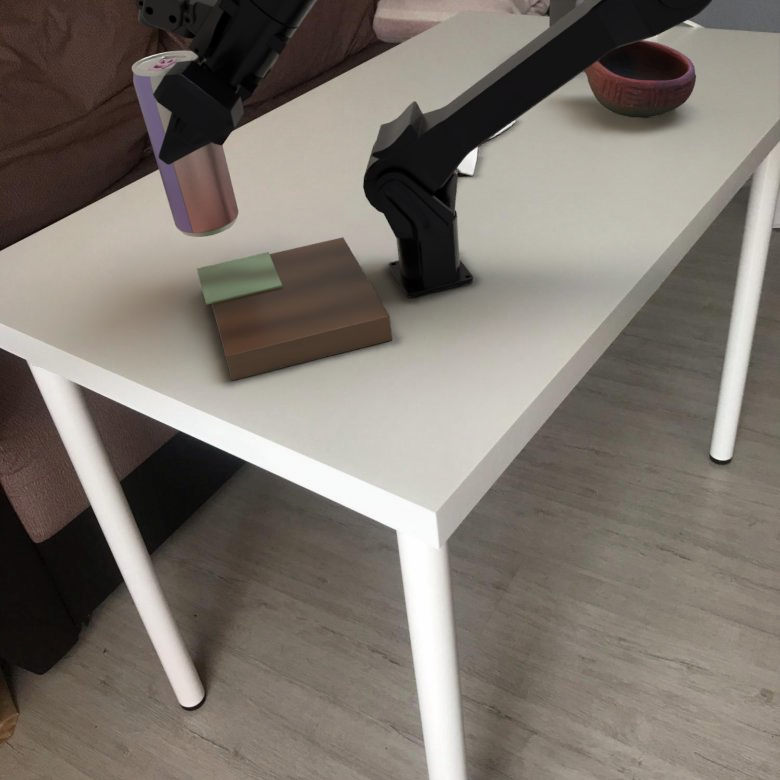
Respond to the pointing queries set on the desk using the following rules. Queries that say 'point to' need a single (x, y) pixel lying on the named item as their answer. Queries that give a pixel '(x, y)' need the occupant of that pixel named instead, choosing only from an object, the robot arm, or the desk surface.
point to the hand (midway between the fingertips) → (173, 147)
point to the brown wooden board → (293, 307)
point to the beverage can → (186, 159)
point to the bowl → (642, 79)
